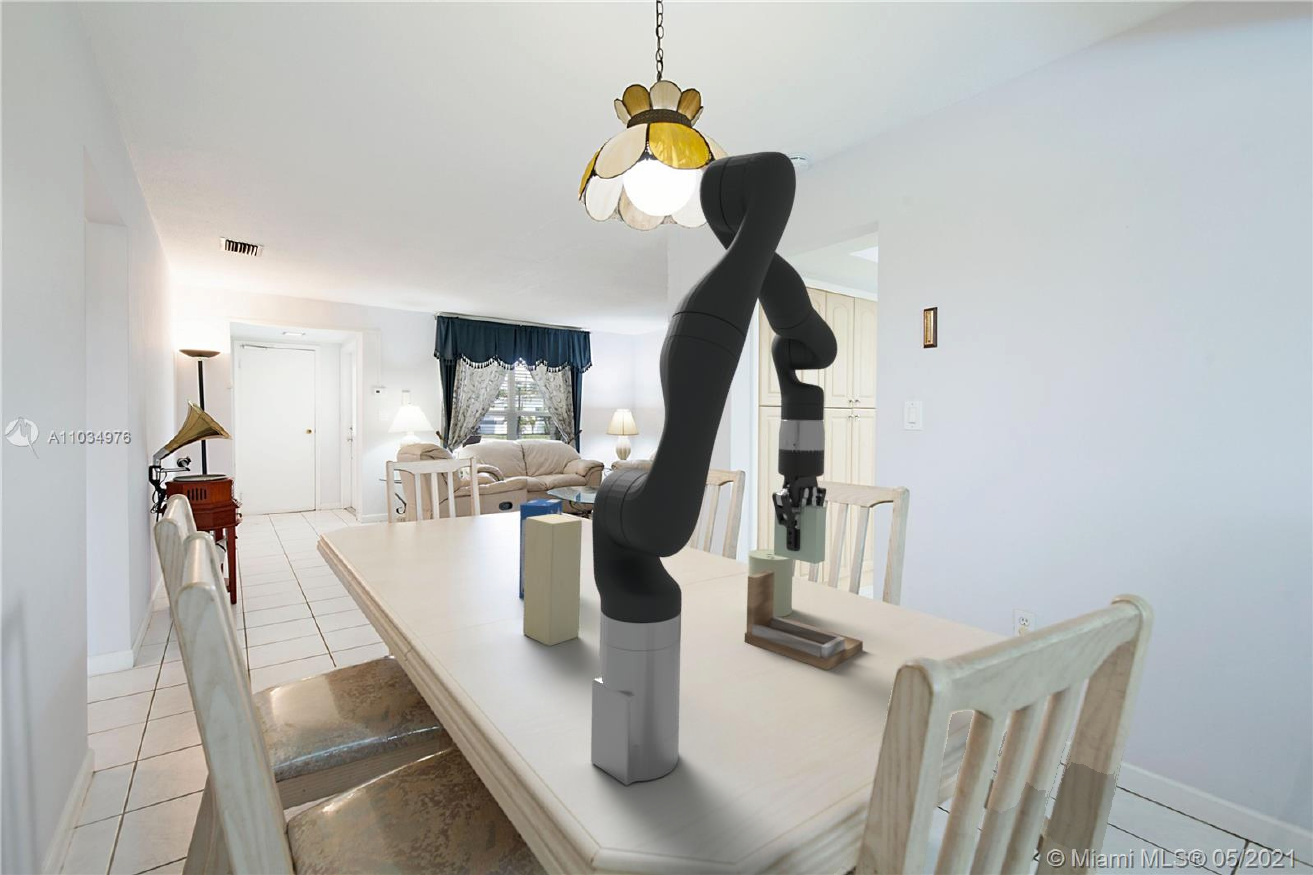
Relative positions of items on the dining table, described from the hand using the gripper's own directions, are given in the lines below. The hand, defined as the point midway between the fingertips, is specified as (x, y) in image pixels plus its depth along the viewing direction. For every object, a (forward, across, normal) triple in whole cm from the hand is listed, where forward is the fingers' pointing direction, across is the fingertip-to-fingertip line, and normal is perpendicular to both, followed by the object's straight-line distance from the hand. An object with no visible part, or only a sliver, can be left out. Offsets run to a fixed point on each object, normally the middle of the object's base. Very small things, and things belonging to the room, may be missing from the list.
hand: (799, 548), depth 100 cm
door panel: (+2, 0, 0) cm, 2 cm away
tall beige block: (+17, -27, +33) cm, 46 cm away
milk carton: (+18, -14, +56) cm, 60 cm away
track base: (+17, +2, 0) cm, 18 cm away
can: (+18, +14, +15) cm, 27 cm away
